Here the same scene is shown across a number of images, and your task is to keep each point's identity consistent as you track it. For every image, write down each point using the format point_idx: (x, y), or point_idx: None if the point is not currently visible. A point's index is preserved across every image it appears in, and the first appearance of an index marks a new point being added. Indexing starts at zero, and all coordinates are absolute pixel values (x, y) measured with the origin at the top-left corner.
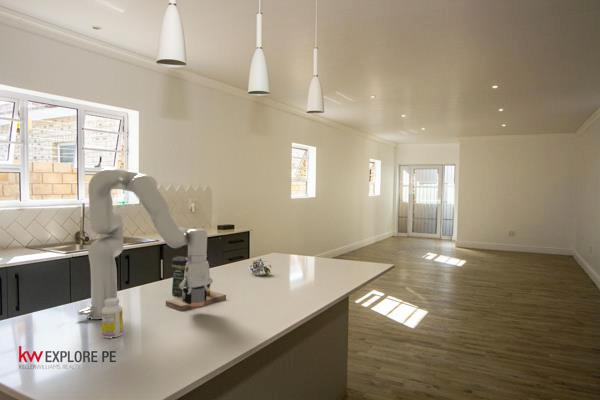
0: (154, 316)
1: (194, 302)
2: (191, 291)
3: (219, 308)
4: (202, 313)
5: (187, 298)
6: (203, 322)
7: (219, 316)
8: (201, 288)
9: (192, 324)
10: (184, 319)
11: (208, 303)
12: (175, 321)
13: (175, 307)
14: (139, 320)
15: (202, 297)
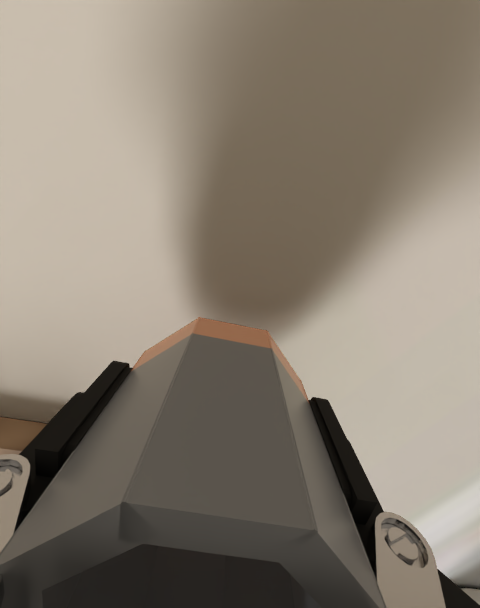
0: (381, 488)
1: (292, 379)
2: (365, 558)
3: (23, 281)
4: (198, 308)
5: (361, 467)
6: (376, 135)
7: (176, 118)
8: (172, 536)
9: (449, 186)
10: (366, 322)
11: (13, 420)
12: (422, 342)
13: None
14: (462, 497)
15: (200, 365)
